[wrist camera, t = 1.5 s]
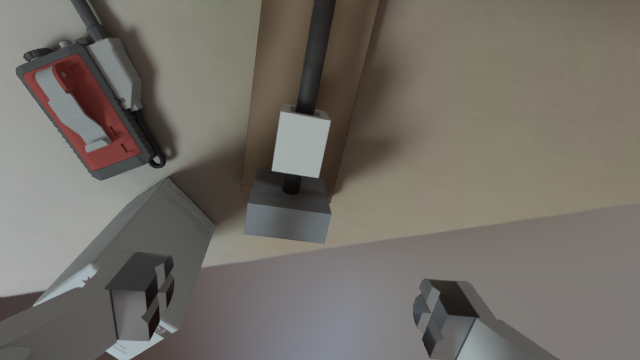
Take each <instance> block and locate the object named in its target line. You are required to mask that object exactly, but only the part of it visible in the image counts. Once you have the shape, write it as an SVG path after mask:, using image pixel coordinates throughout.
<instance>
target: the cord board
mask: <svg viewBox="0 0 640 360" xmlns="http://www.w3.org/2000/svg"><path fill="white" fill-rule="evenodd" d="M378 5H379V0H262V5H261V14H260V23H259V32H258V41H257V50H256V59H255V68H254V77H253V86H252V95H251V104H250V112H249V121H248V130H247V139H246V148H245V157H244V166H243V175H242V184H241V191H246V192H251V193H250V197H249V200H248V204H247V212H246V220H245V228H244V234H248V235H256V236H264V237H273V238H281V239H289V240H297V241H306V242H314V243H322V244H324V242H325V238H326V234H327V230H328V226H329V222H330V218H331V211H330V207H329V203H331V199H332V195H333V190H334V186H335V182H336V178H337V174H338V170H339V166H340V162H341V157H342V153H343V149H344V145H345V141H346V137H347V133H348V128H349V124H350V120H351V116H352V112H353V108H354V104H355V100H356V95H357V91H358V87H359V83H360V79H361V75H362V71H363V67H364V62H365V58H366V54H367V50H368V46H369V42H370V38H371V33H372V29H373V25H374V21H375V17H376V13H377V9H378ZM282 103H285V104H291V105H296V111H295V112H296V113H302V114H307V115H312V116H314V113H315V109H317V110H322V111H326V112H327V114H328V116H329V118H330V120H331V123H330V127H329V132H328V137H327V141H326V146H325V150H324V155H323V160H322V164H321V169H320V173H319V178H314V177H308V176H302V175H295V174H289V173H282V172H276V171H272V165H273V158H274V151H275V145H276V138H277V132H278V125H279V118H280V112H281V107H282Z"/></svg>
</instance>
